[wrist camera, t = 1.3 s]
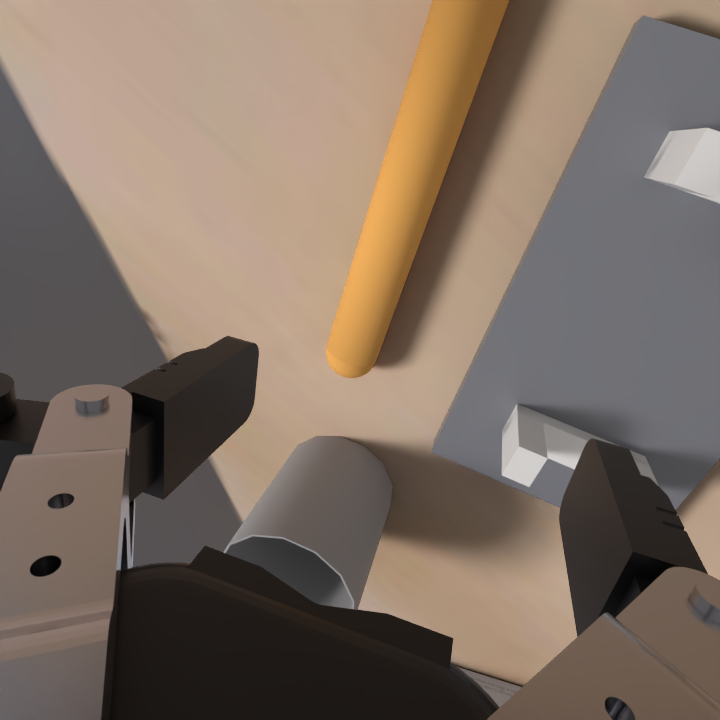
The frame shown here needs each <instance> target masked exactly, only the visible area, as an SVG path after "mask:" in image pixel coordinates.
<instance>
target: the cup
mask: <svg viewBox="0 0 720 720" xmlns="http://www.w3.org/2000/svg"><path fill="white" fill-rule="evenodd" d="M392 490H393V485H392V482H391V480H390V478H389V475H388V473H387V471H386V468H385V466H384V464H383V463H382V462H381V461H380V460H379V459H378V458H377V457H376V456H375V455H373V454H372V453H371V452H370V451H369V450H368V449H367V448H366V447H365V446H363V445H360V444H358V443H355V442H353V441H351V440H348V439H346V438H343V437H341V436H316V437H314V438H311V439H309V440H307V441H305V442H303V443H301V444H299V445H297V447H296V448H295V449H294V451H293V452H292V454H291V455H290V457H289V458H288V460H287V461H286V462H285V464H284V465H283V467H282V468H281V470H280V471H279V472H278V474H277V475H276V477H275V478H274V480H273V481H272V482H271V484H270V485H269V487H268V488H267V490H266V491H265V493H264V494H263V495H262V497H261V498H260V500H259V501H258V503H257V504H256V505H255V507H254V508H253V510H252V511H251V513H250V514H249V515H248V517H247V518H246V520H245V521H244V523H243V524H242V525H241V527H240V528H239V530H238V531H237V533H236V534H235V536H234V537H233V539H232V540H231V541H230V543H229V544H228V546H227V547H226V549H225V551H224V552H223V553H226V554H228V555H231V556H234V557H237V558H239V559H242V560H245V561H247V562H250V563H253V564H255V565H258V566H261V567H262V568H264V569H265V570H267V571H268V572H270V573H271V574H273V575H274V576H276V577H277V578H279V579H280V580H281V581H283V582H284V583H286V584H287V585H289V586H290V587H292V588H293V589H295V590H296V591H298V592H299V593H301V594H302V595H303V596H305V597H306V598H308V599H309V600H311V601H313V602H315V603H317V604H320V605H326V606H333V607H341V608H348V609H355V610H357V609H358V606H359V603H360V600H361V597H362V594H363V591H364V588H365V585H366V581H367V578H368V575H369V572H370V569H371V566H372V563H373V560H374V556H375V553H376V550H377V547H378V544H379V541H380V538H381V535H382V532H383V528H384V525H385V522H386V519H387V516H388V513H389V510H390V507H391V499H392Z"/></svg>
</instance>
